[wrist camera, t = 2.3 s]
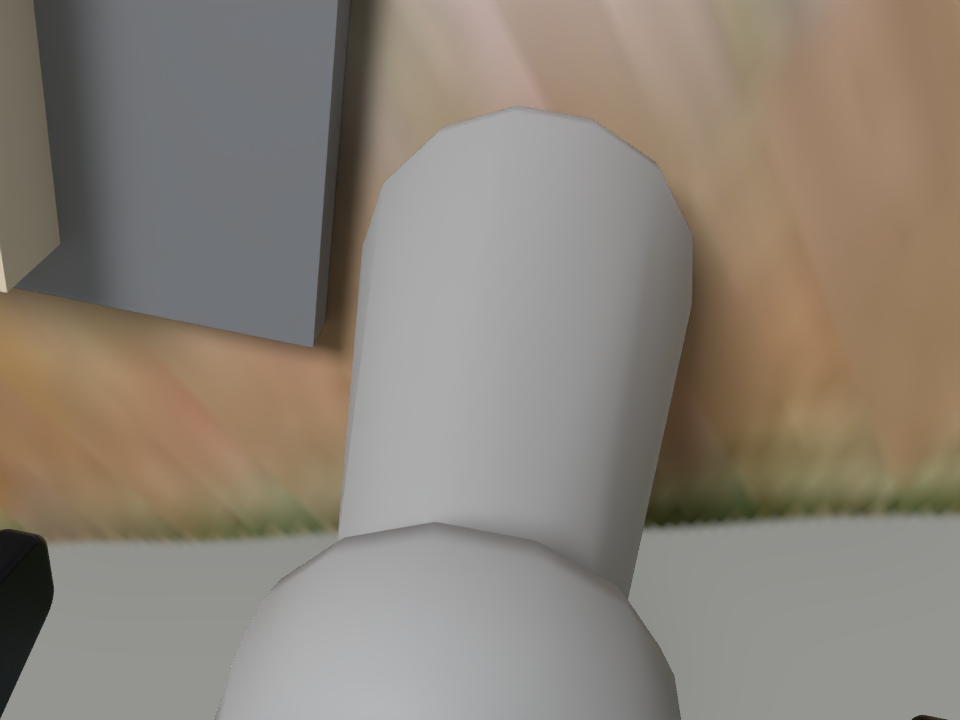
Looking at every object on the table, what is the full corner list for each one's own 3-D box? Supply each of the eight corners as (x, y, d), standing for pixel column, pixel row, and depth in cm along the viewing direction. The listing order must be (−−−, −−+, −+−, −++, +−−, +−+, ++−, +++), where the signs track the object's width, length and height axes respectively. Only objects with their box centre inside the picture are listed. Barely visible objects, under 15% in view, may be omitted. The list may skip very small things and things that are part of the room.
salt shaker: (749, 187, 17) (978, 911, 7) (568, 383, 20) (524, 1100, 10) (492, 2, 16) (255, 532, 5) (339, 241, 19) (-11, 890, 8)
